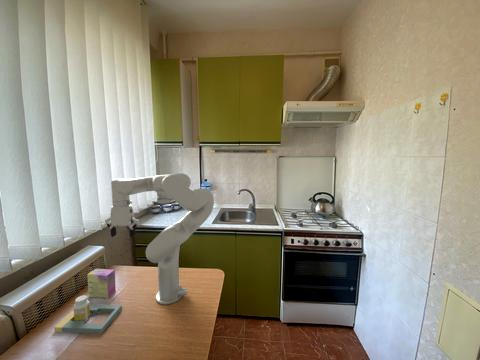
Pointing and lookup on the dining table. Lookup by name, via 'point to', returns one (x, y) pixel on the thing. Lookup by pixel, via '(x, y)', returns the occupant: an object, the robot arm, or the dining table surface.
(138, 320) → the dining table surface
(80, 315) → the supplement bottle
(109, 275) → the box
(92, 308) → the keyhole board
